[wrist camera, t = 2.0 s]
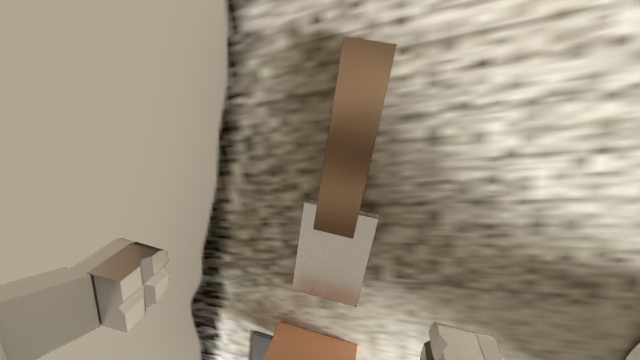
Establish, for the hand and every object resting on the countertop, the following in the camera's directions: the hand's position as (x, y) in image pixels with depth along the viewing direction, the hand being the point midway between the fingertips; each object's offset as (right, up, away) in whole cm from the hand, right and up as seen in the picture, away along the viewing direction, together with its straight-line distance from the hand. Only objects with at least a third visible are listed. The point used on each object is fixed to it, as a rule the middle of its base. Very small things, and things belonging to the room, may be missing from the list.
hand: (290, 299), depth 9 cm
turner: (+3, +3, +15) cm, 15 cm away
